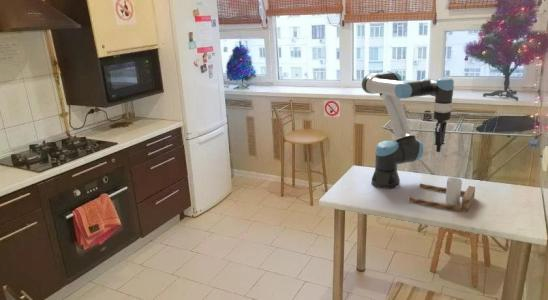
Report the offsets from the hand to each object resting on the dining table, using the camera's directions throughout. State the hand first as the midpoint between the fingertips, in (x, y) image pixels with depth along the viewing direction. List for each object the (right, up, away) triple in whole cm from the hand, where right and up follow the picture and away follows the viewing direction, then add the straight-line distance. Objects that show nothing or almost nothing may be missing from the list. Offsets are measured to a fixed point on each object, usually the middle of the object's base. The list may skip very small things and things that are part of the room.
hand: (438, 157), depth 209 cm
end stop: (+13, -23, -3) cm, 27 cm away
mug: (+7, -22, +1) cm, 23 cm away
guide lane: (+2, -21, +4) cm, 21 cm away
